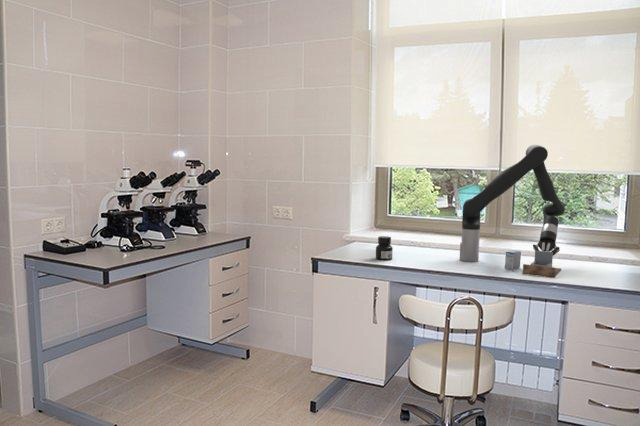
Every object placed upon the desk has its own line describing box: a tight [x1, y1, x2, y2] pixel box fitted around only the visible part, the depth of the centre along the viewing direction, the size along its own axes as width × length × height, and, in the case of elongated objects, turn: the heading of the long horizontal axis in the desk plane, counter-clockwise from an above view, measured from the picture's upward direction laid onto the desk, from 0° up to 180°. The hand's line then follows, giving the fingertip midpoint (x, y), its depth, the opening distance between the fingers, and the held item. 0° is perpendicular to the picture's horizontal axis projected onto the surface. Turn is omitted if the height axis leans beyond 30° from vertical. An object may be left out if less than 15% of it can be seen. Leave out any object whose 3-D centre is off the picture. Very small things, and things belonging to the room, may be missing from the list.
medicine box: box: [504, 249, 522, 271], centre depth 265 cm, size 8×4×9 cm, turn 135°
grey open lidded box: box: [529, 250, 554, 267], centre depth 254 cm, size 8×12×9 cm, turn 148°
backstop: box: [522, 263, 562, 279], centre depth 258 cm, size 14×23×4 cm, turn 148°
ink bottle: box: [375, 235, 394, 261], centre depth 283 cm, size 10×9×12 cm
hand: (543, 262), depth 260 cm, fingers closed
